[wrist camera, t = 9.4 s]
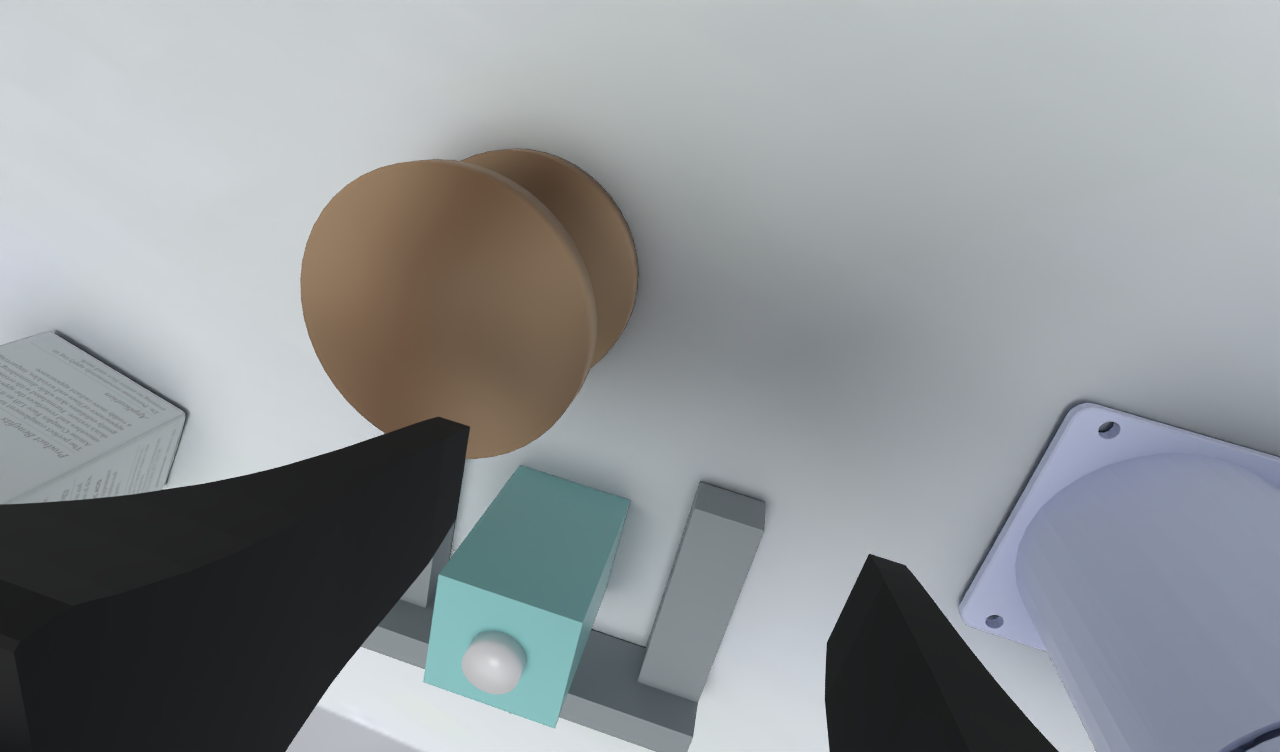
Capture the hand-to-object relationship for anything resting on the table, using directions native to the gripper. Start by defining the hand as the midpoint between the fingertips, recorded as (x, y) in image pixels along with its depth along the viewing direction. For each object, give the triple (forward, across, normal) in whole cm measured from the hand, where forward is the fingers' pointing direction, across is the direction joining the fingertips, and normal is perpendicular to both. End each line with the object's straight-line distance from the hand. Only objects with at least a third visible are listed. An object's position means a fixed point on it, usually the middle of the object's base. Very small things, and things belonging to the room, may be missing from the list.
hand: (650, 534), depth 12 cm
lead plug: (+10, +3, +8) cm, 13 cm away
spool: (+9, +6, -1) cm, 11 cm away
